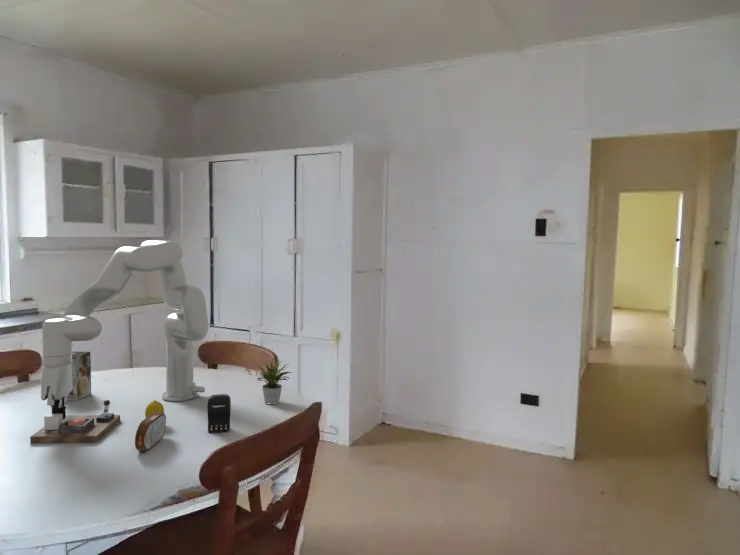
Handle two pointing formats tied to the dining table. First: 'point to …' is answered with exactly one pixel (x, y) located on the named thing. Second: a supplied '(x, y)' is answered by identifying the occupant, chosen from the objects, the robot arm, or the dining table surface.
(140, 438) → the tin
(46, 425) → the block
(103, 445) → the dining table surface
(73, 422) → the push button
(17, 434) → the dining table surface
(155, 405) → the lemon
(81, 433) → the control board
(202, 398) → the dining table surface
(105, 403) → the toggle lever
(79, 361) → the coffee box
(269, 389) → the house plant
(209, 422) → the battery charger
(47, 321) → the robot arm
